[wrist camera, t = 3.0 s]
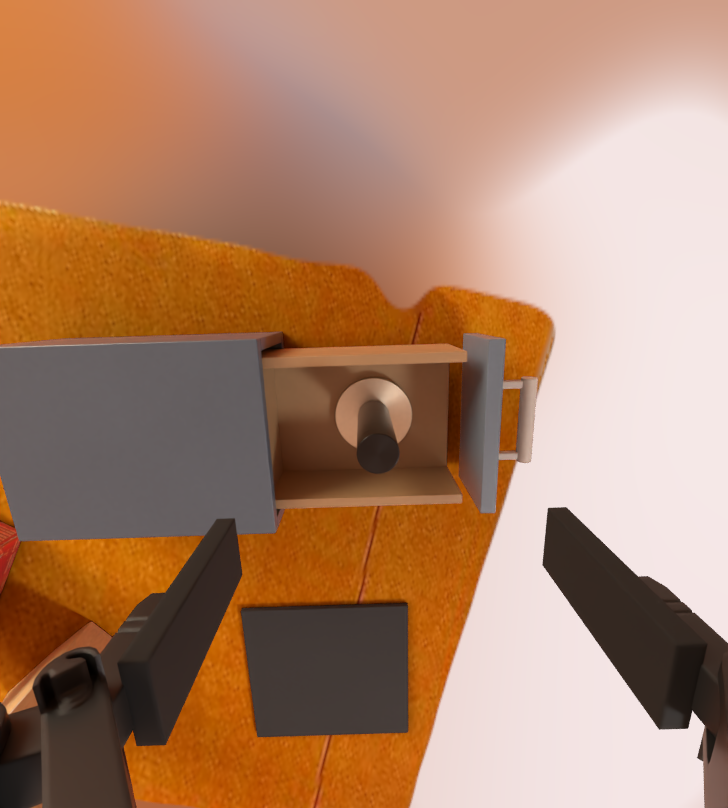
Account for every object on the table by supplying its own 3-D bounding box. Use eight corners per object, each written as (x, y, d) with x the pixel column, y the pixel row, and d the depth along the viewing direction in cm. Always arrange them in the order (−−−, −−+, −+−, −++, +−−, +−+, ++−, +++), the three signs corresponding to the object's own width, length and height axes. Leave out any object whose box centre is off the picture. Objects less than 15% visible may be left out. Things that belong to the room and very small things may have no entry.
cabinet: (283, 331, 34) (256, 338, 25) (295, 482, 37) (275, 533, 29) (63, 338, 34) (-38, 348, 25) (96, 488, 37) (18, 541, 29)
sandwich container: (4, 692, 44) (-174, 883, 29) (89, 618, 41) (-60, 786, 27) (64, 733, 45) (-77, 935, 31) (149, 665, 43) (40, 848, 28)
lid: (411, 375, 33) (431, 401, 23) (411, 448, 34) (430, 500, 25) (333, 377, 33) (322, 404, 23) (337, 451, 34) (328, 503, 25)
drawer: (517, 331, 33) (557, 337, 26) (508, 474, 36) (541, 511, 30) (265, 339, 33) (241, 347, 26) (278, 481, 36) (260, 520, 30)
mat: (407, 602, 41) (407, 606, 41) (407, 728, 45) (408, 732, 45) (242, 607, 41) (240, 611, 41) (258, 732, 45) (257, 737, 45)
